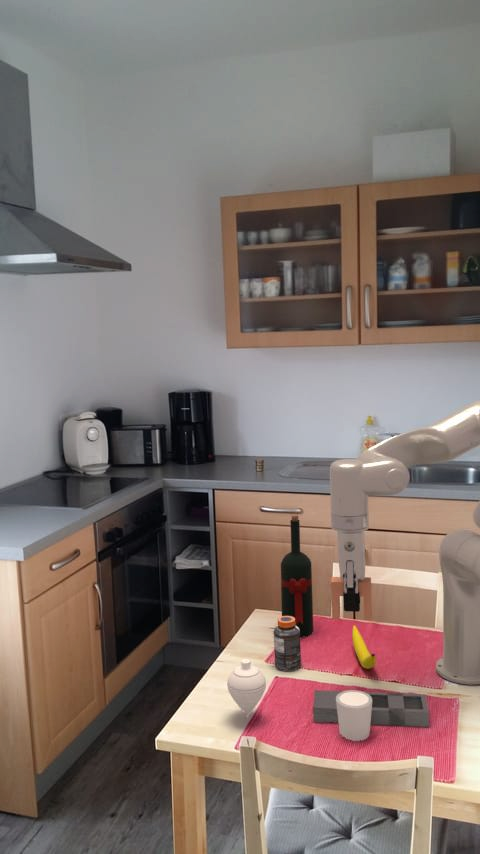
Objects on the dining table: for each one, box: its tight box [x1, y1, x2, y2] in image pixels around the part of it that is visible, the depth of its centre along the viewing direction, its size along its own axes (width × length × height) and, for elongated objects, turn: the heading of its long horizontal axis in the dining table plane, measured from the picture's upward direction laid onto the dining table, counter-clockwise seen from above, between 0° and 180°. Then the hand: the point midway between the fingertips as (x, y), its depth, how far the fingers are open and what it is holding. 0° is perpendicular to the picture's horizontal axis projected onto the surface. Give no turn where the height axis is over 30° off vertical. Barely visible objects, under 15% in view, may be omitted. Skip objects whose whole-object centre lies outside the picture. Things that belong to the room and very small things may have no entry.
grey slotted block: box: [312, 689, 430, 728], centre depth 149 cm, size 22×7×3 cm, turn 81°
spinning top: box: [226, 658, 267, 719], centre depth 149 cm, size 8×8×12 cm
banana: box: [351, 624, 377, 670], centre depth 171 cm, size 3×19×6 cm, turn 4°
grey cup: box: [336, 689, 372, 742], centre depth 142 cm, size 7×7×7 cm
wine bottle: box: [280, 514, 314, 638], centre depth 187 cm, size 8×10×30 cm
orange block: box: [330, 576, 373, 621], centre depth 155 cm, size 8×3×8 cm, turn 80°
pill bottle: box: [273, 615, 302, 672], centre depth 170 cm, size 6×6×11 cm
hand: (352, 606), depth 155 cm, fingers closed on orange block, 3 cm apart
